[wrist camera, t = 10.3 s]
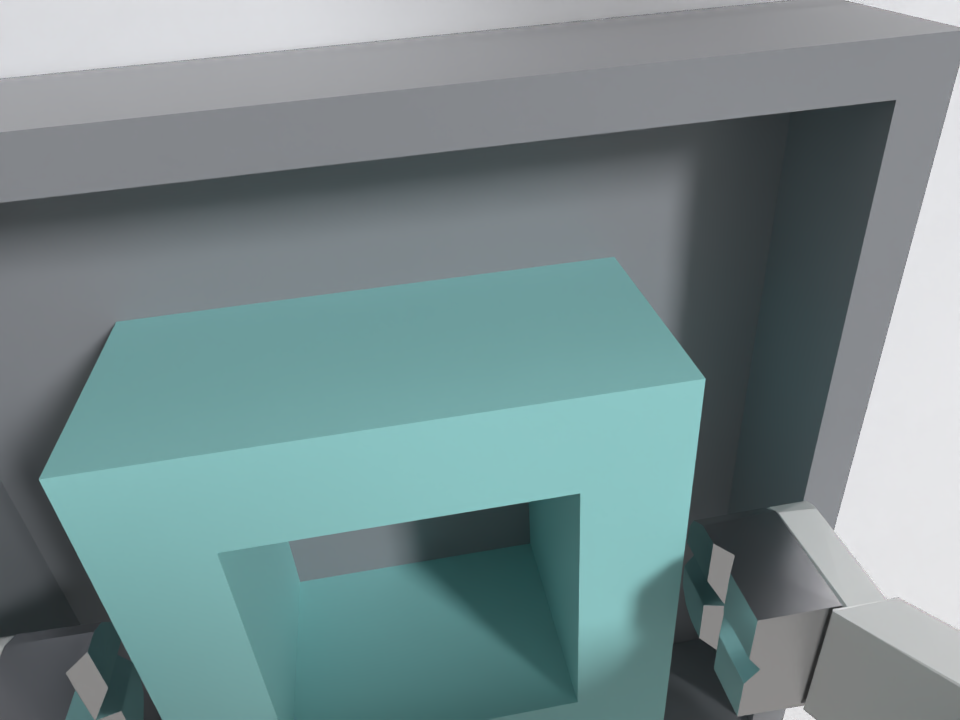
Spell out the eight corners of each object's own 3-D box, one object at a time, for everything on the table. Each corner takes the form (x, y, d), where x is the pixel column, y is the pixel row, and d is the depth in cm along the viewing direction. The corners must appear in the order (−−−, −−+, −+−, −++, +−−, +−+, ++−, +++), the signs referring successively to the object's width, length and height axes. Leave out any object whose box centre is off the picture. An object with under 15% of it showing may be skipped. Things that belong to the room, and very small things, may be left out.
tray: (-231, 101, 8) (-424, 177, 6) (827, -4, 9) (968, 29, 7) (129, 734, 15) (96, 874, 13) (720, 626, 16) (778, 737, 14)
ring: (116, 321, 9) (37, 479, 7) (614, 256, 10) (705, 378, 8) (239, 645, 13) (216, 826, 11) (601, 580, 14) (661, 736, 11)
